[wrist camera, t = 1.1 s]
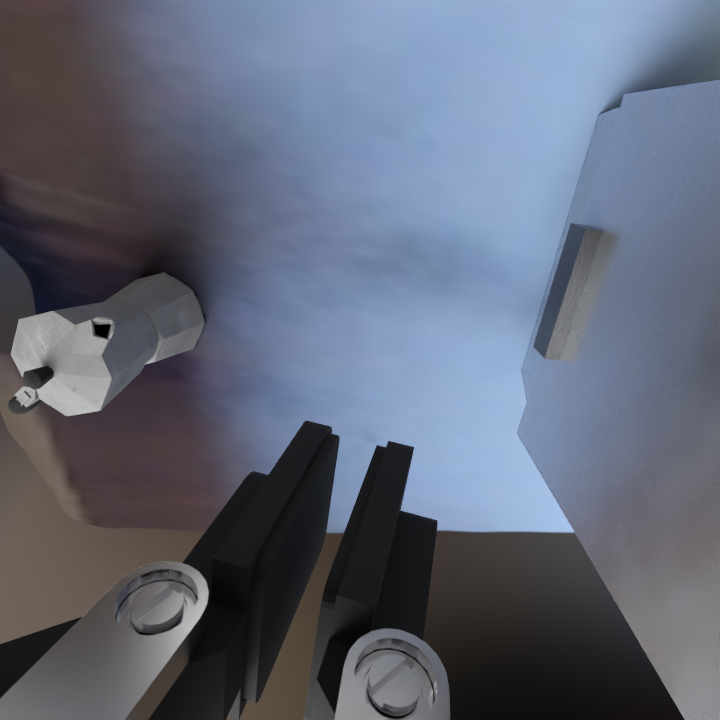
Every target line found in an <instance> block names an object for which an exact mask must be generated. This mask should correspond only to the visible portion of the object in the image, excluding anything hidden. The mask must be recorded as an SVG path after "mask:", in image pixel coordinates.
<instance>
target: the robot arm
mask: <svg viewBox="0 0 720 720" xmlns="http://www.w3.org/2000/svg"><path fill="white" fill-rule="evenodd" d="M338 446H339V436H338V435H334V434H332V428H331V427H330V426H326V425H322V424H318V423H314V422H310V421H305V422H304V423H303V425H302V426H301V428H300V429H299V431H298V432H297V434H296V435H295V437H294V438H293V440H292V441H291V443H290V444H289V446H288V447H287V448H286V450H285V451H284V453H283V454H282V456H281V457H280V459H279V460H278V462H277V463H276V465H275V466H274V468H273V469H272V471H271V472H270V474H269V475H266V474H262V473H258V472H255V471H253V472H251V473H250V474H249V475H248V476H247V477H246V478H245V480H244V481H243V482H242V484H241V485H240V486H239V488H238V489H237V490H236V492H235V493H234V494H233V496H232V497H231V498H230V500H229V501H228V502H227V504H226V505H225V506H224V508H223V509H222V511H221V512H220V513H219V515H218V516H217V517H216V519H215V520H214V521H213V523H212V524H211V525H210V527H209V528H208V529H207V531H206V532H205V533H204V535H203V536H202V537H201V539H200V540H199V542H198V543H197V544H196V545H195V547H194V548H193V550H192V551H191V552H190V554H189V555H188V556H187V558H186V559H185V560H184V562H183V563H179V562H175V561H173V562H156V563H152V564H148V565H144V566H142V567H140V568H138V569H136V570H134V571H132V572H130V573H128V574H127V575H126V576H124V577H123V578H122V579H121V580H119V581H118V582H117V583H116V584H115V585H114V586H113V587H112V588H111V589H110V590H109V591H108V592H107V593H106V594H105V595H104V596H103V597H102V598H101V599H100V600H99V601H98V602H97V603H96V604H95V605H94V606H93V607H92V608H91V609H90V610H89V611H88V612H87V613H86V614H85V615H84V616H83V617H80V618H77V619H74V620H71V621H68V622H65V623H62V624H59V625H56V626H53V627H50V628H47V629H45V630H41V631H38V632H36V633H32V634H30V635H26V636H23V637H21V638H18V639H15V640H12V641H9V642H6V643H3V644H0V720H226V718H227V717H230V718H232V719H235V720H239V719H240V716H241V714H242V712H243V709H244V707H245V705H246V703H247V700H249V701H252V702H255V703H257V702H258V700H259V699H260V697H261V695H262V692H263V690H264V687H265V685H266V682H267V680H268V678H269V675H270V673H271V671H272V668H273V666H274V663H275V661H276V658H277V656H278V654H279V651H280V649H281V646H282V644H283V642H284V639H285V637H286V634H287V632H288V629H289V627H290V625H291V622H292V620H293V617H294V615H295V613H296V610H297V608H298V605H299V603H300V600H301V598H302V596H303V593H304V591H305V588H306V586H307V584H308V581H309V579H310V576H311V574H312V571H313V569H314V566H315V564H316V562H317V559H318V557H319V554H320V552H321V549H322V547H323V543H324V540H325V535H326V529H327V522H328V515H329V509H330V502H331V495H332V488H333V481H334V474H335V467H336V460H337V453H338ZM413 450H414V447H411V446H407V445H403V444H399V443H395V442H391V441H388V444H387V447H382V446H378V445H377V446H376V449H375V452H374V454H373V457H372V460H371V462H370V465H369V468H368V470H367V473H366V476H365V478H364V481H363V484H362V487H361V489H360V492H359V495H358V497H357V500H356V503H355V505H354V508H353V511H352V513H351V516H350V519H349V522H348V524H347V527H346V530H345V532H344V535H343V538H342V541H341V543H340V546H339V548H338V551H337V554H336V557H335V559H334V562H333V565H332V568H331V570H330V573H329V576H328V579H327V582H326V585H325V589H324V593H323V597H322V602H321V607H320V614H319V620H318V627H317V634H316V641H315V647H314V654H313V661H312V667H311V674H310V680H309V687H308V693H307V700H306V707H305V713H304V720H452V718H451V717H450V705H449V686H448V681H447V675H446V671H445V669H444V667H443V665H442V663H441V661H440V659H439V657H438V656H437V655H436V653H435V652H434V651H433V650H432V649H431V648H430V646H429V645H428V644H427V643H425V642H423V634H424V626H425V618H426V611H427V602H428V595H429V587H430V579H431V571H432V563H433V555H434V546H435V538H436V531H437V520H433V519H430V518H426V517H422V516H418V515H415V514H411V513H407V512H403V511H400V509H401V505H402V500H403V496H404V491H405V487H406V482H407V477H408V473H409V468H410V464H411V459H412V455H413Z"/></svg>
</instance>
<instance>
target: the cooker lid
mask: <svg viewBox="0 0 720 720" xmlns="http://www.w3.org/2000/svg"><path fill="white" fill-rule="evenodd" d="M533 347H534V348H535V349H536V350H537V351H538V352H539V353H540V355H541V359H540V362H539V365H538V368H537V371H536V374H535V378H534V381H533V384H532V387H531V390H530V393H529V397H528V400H527V403H526V406H525V409H524V412H523V416H522V419H521V422H520V425H519V428H518V431H517V434H518V436H519V438H520V439H521V441H522V443H523V445H524V446H525V448H526V450H527V451H528V453H529V455H530V457H531V458H532V460H533V462H534V463H535V465H536V467H537V468H538V470H539V472H540V474H541V475H542V477H543V479H544V480H545V482H546V484H547V486H548V487H549V489H550V491H551V492H552V494H553V496H554V497H555V499H556V501H557V503H558V504H559V506H560V508H561V509H562V511H563V513H564V515H565V516H566V518H567V520H568V521H569V523H570V525H571V526H572V528H573V530H574V532H575V533H576V535H577V537H578V538H579V540H580V542H581V543H582V545H583V547H584V548H585V550H586V552H587V554H588V555H589V557H590V559H591V561H592V562H593V564H594V565H595V567H596V569H597V571H598V572H599V574H600V576H601V578H602V579H603V581H604V583H605V584H606V586H607V588H608V589H609V591H610V593H611V595H612V596H613V598H614V600H615V601H616V603H617V605H618V606H619V608H620V610H621V612H622V613H623V615H624V617H625V618H626V620H627V622H628V624H629V625H630V627H631V629H632V630H633V632H634V634H635V636H636V637H637V639H638V641H639V642H640V644H641V646H642V647H643V649H644V651H645V653H646V654H647V656H648V658H649V659H650V661H651V663H652V665H653V666H654V668H655V669H656V671H657V673H658V675H659V676H660V678H661V680H662V682H663V683H664V685H665V687H666V688H667V690H668V692H669V693H670V695H671V697H672V698H673V700H674V702H675V704H676V705H677V707H678V709H679V711H680V712H681V714H682V715H683V717H684V719H685V720H720V80H713V81H706V82H700V83H693V84H687V85H680V86H673V87H667V88H660V89H653V90H647V91H640V92H634V93H627V94H624V96H623V99H622V102H621V105H620V109H619V112H618V115H617V118H616V121H615V124H614V128H613V131H612V134H611V137H610V140H609V143H608V147H607V150H606V153H605V156H604V159H603V162H602V166H601V169H600V172H599V175H598V178H597V181H596V185H595V188H594V191H593V194H592V197H591V200H590V204H589V207H588V210H587V213H586V216H585V219H584V223H583V225H582V224H575V223H571V224H570V227H569V230H568V234H567V237H566V240H565V243H564V247H563V250H562V253H561V257H560V260H559V263H558V266H557V270H556V273H555V276H554V279H553V283H552V286H551V289H550V293H549V296H548V299H547V302H546V306H545V309H544V312H543V315H542V319H541V322H540V325H539V329H538V332H537V335H536V338H535V342H534V345H533Z"/></svg>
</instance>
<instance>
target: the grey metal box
mask: <svg viewBox="0 0 720 720" xmlns="http://www.w3.org/2000/svg"><path fill="white" fill-rule="evenodd" d="M619 109H620V107H618V108H615V109H613V110H610V111H607V112H605V113H602V114H599V115H598V118H597V121H596V125H595V128H594V131H593V135H592V138H591V141H590V145H589V148H588V151H587V155H586V158H585V161H584V164H583V168H582V171H581V174H580V178H579V181H578V184H577V188H576V191H575V194H574V198H573V201H572V204H571V208H570V211H569V214H568V218H567V221H566V224H565V227H564V231H563V234H562V237H561V241H560V244H559V247H558V251H557V254H556V257H555V261H554V264H553V267H552V271H551V274H550V277H549V280H548V284H547V287H546V290H545V294H544V297H543V300H542V304H541V307H540V310H539V314H538V317H537V320H536V324H535V327H534V330H533V334H532V337H531V340H530V343H529V347H528V350H527V353H526V357H525V360H524V363H523V367H522V370H521V372H522V377H523V383H524V389H525V394H526V400H528V397H529V393H530V390H531V387H532V384H533V381H534V378H535V374H536V371H537V368H538V365H539V362H540V359H541V355H540V353H539V352H538V351H537V350H536V349H535V348H534V347H533V345H534V342H535V338H536V335H537V332H538V329H539V325H540V322H541V319H542V315H543V312H544V309H545V306H546V302H547V299H548V296H549V293H550V289H551V286H552V283H553V279H554V276H555V273H556V270H557V266H558V263H559V260H560V257H561V253H562V250H563V247H564V243H565V240H566V237H567V234H568V230H569V227H570V224H571V223H575V224H582V225H583V223H584V219H585V216H586V213H587V210H588V207H589V204H590V200H591V197H592V194H593V191H594V188H595V185H596V181H597V178H598V175H599V172H600V169H601V166H602V162H603V159H604V156H605V153H606V150H607V147H608V143H609V140H610V137H611V134H612V131H613V128H614V124H615V121H616V118H617V115H618V112H619Z"/></svg>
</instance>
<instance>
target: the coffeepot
mask: <svg viewBox="0 0 720 720" xmlns="http://www.w3.org/2000/svg"><path fill="white" fill-rule="evenodd" d="M204 324H205V321H204V317H203V313H202V309H201V306H200V304H199V302H198V299H197V298H196V296H195V294H194V292H193V290H192V289H190V288H189V287H188V286H186V285H185V284H184V283H182V282H181V281H180V280H178V279H176V278H174V277H171V276H169V275H168V274H166V273H165V272H163V273H159V274H155V275H151V276H148V277H144V278H140V279H136V280H135V281H133V282H132V283H131V284H129V285H128V286H126V287H125V288H123V289H122V290H120V291H119V292H117V293H116V294H114V295H113V296H112V297H110V298H109V299H107V300H106V301H104V302H101V303H96V304H90V305H84V306H79V307H73V308H67V309H61V310H56V311H51V312H46V313H42V314H38V315H34V316H30V317H27V318H23V319H20V320H19V322H18V326H17V330H16V334H15V338H14V343H13V347H12V351H11V356H12V358H13V360H14V362H15V364H16V365H17V367H18V369H19V371H20V373H21V375H22V377H23V379H24V381H25V383H26V385H25V386H23V387H22V388H21V389H20V390H19V391H18V392H17V393H16V394H15V397H14V398H12V399H11V400H10V401H9V403H8V408H9V410H10V411H11V412H13V413H16V414H23V413H27V412H29V411H30V410H32V409H33V408H35V407H36V406H38V405H39V404H41V403H42V402H45V403H47V404H48V405H50V406H52V407H53V408H55V409H56V410H58V411H59V412H61V413H63V414H64V415H66V416H71V415H77V414H83V413H90V412H96V411H101V410H102V409H103V408H104V407H105V406H106V405H107V404H108V403H109V402H110V401H111V400H112V399H113V398H114V397H115V396H116V395H117V394H118V393H119V392H120V391H121V390H123V389H124V388H125V387H126V386H127V385H128V384H129V383H130V382H131V381H132V380H133V379H134V378H135V377H136V376H137V375H138V374H139V373H140V372H141V371H142V369H143V367H144V365H145V364H148V363H152V362H155V361H158V360H161V359H164V358H167V357H170V356H173V355H176V354H179V353H182V352H185V351H188V350H191V349H194V347H195V345H196V342H197V340H198V339H199V337H200V335H201V332H202V329H203V326H204Z"/></svg>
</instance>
